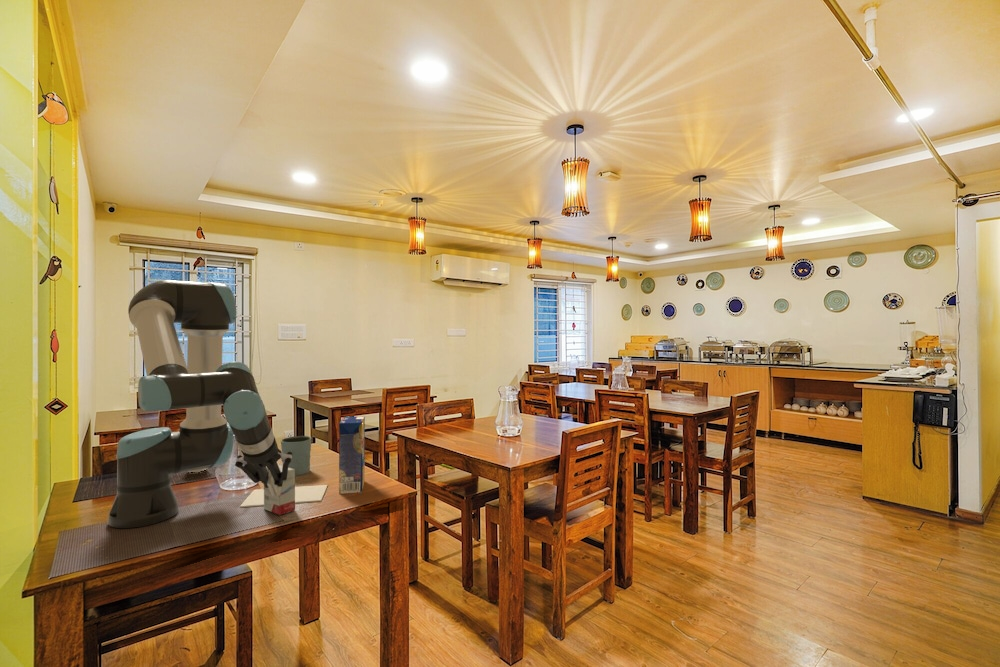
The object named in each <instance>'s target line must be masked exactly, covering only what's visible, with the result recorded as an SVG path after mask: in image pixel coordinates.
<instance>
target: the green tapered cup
mask: <svg viewBox="0 0 1000 667" xmlns="http://www.w3.org/2000/svg"><path fill="white" fill-rule="evenodd" d="M280 447H281V448H280V450H281V452H282V453H284V454H287V453H288V452H292V458H291V462H290V464H289V466H288V468H292V469H295V477H296V476H303V475H306V474H308V473H310V470H311V450H312V437H311V436H308V435H295V436H289V437H285V438H282V439H281V440H280Z"/></svg>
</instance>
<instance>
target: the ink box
mask: <svg viewBox="0 0 1000 667" xmlns="http://www.w3.org/2000/svg"><path fill="white" fill-rule="evenodd" d="M278 467H279V469H280V471H281V472H282V468H283V465H280V464H278ZM266 468H267V467H266ZM267 471H268V472H269V474H268V476H269V475H270V474H271V472H270V470H268V468H267ZM295 477H296V476H295V469H292V468H288V474H287V480H285V481H284V480H283V484H282V487H281V492H280V495H279V496H277V494H275V496H272V495H271V492H270V490H269V488H265V486H264V485H263V489H264V506H263V510H266V511H268V512H270V513H274V514H276V515H279V516H280V515H281V516H282V515H285V514H287V513H290V512H293V511H296V503H295V487H296V481H295V480H296V478H295Z"/></svg>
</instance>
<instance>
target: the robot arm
mask: <svg viewBox="0 0 1000 667" xmlns="http://www.w3.org/2000/svg"><path fill="white" fill-rule="evenodd" d="M127 311H128V313H127V314H128V319H129V321H130V323H131V324H132V325H133V327H135V328H136V331H137V336H138V340H139V346H140V350H141V354H142V359H143V363H144V364H143V365H144V369H145V373H146V375H145V376H141V377H140V378H139V379H138V384H137V398H138V406H139V408H140V409H141V410H142V411H144V412H155V411H158V412H159V411H162V412H165V411H171V410H181V409H185V410H186V414H185V415H186V416H185V419H183V421H181V422H180V423H179V430H177V431H172V429H171V428H170V427H167V426H163V427H154V428H153V427H152V428H146V429H143V430H138V431H135V432H132V433H130V434H127V435H124V436H123V437H121V438H120V439H119V440H118V442H117V447H116V455H115V459H116V460H117V461H116V462H117V463H116V464H117V465H116V467H117V468H116V496H115V498H114V500H113V502H112V505H111V509H110V511H109V513H108V526H109V527H110V528H114V529H115V528H116V529H133V528H139V527H145V526H149V525H155V524H157V523H161V522H163V521H166V520H168V519H171V518H172V517H174V516H175V515H176V514H178V513H179V500H178V499H177V496H176V494H175V490H174V489H173V487H172V484H171V482H172V480H171V477H172V475H174V474H175V475H176V474H181V473H185V472H187V473H188V471H193V470H198V469H204V468H207V469H212V468H214V467H219V466H222V465H225V464H227V462H229V459H230V458H231V456H232V453H233V450H234V449H233V448H234V441H236V442H237V445H238V447H239V449H240V451H241V454H242V455H241V454H240V455H237V457H236V459H235V464H234V466H235V467H236V468H238V469H241V471H242V472H244V473H245V475H246V476H247V477H248V478H249V479H250V480H251V481H252V482H253V483H255V484H257V483H260V482H261V484H263V487H264V486H265V488H269V490H270V492H271V495H272V496H275V494H277V496H279V495H280V492H281V487H282V484H283V480H284V481H285V480H287V474H288V466H289V464H290V462H291V458H292V452H288V453H287V454H284V453H282V449H280V448H279V445H278V443H277V440H276V438H275V437H276V436H275V435H274V431H273V429H272V426H271V424H270V421H269V418H268V415H267V412H266V407H265V404H264V402H263V400H262V397H261V396H260V392H259V391H258V388H257V385H256V384H257V383H256V380H255V378H254V376H253V373H252V372H251V370H250V367H249V366H248V365H247V364H245V363H243V362H240V361H229V362H227V363H224V364H223V338H224V337H223V336H224V335H225V334H226V333H227V332H228V331H229V330H230V325H232V324H234V323H236V320H237V304H236V299H235V295H234V293H233V290H232V289H231V288H230V286H228V285H227V284H224V283H218V282H211V281H210V282H209V281H208V282H205V281H191V280H189V281H188V280H175V279H174V280H173V279H172V280H171V279H163V280H159V281H155V282H152V283H150V284H147V285H145V286H144V287H143V288H141V289H140V290H138V292H136V293H135V294H134V295H133V296H132V298H131V300H130V302H129V304H128V310H127ZM177 323H178V324H179V323H180V330H181V331H182V332H183V333H185V334H186V336H187V349H186V350H187V351H186V352H187V353H186V359H187V360H185V356H184V353H183V351H182V347H181V344H180V341H179V337H178V333H177V330H176V327H175V324H177ZM222 406H223V409H222ZM222 410H223V414H224V417H223V416H222ZM279 460H280V461H281V464H282V466H283V468H282V472H281V471H280V469H279V467H278V465H279V464H278V461H279ZM267 468H268V470H270V472H271V474H270V475H269V476H268V474H269V472H268V471H267Z"/></svg>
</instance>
